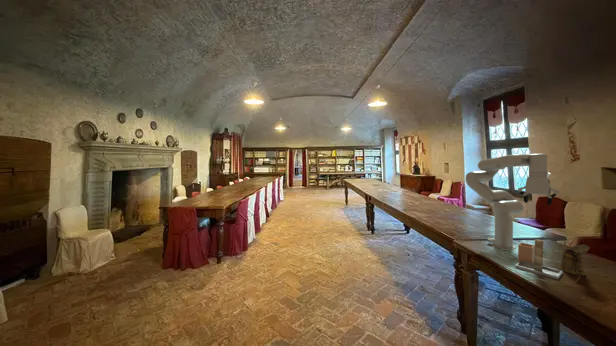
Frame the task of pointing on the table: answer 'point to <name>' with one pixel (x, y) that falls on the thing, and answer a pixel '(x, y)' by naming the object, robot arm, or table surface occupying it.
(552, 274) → the tray
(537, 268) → the dowel
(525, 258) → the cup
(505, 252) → the table surface
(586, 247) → the wooden mug
